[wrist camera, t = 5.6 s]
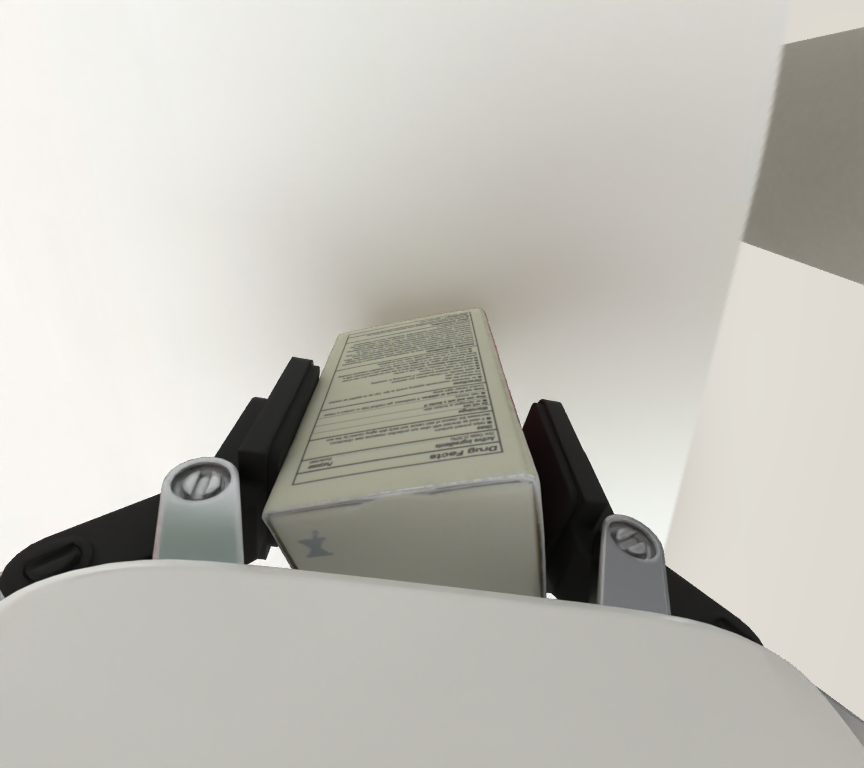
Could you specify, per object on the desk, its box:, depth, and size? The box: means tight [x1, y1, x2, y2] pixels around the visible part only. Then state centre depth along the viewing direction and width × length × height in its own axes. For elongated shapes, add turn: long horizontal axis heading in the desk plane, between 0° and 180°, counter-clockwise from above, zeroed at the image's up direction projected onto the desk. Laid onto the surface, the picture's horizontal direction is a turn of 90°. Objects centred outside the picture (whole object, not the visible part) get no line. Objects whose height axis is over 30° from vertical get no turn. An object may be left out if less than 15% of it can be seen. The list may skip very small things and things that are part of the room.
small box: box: [262, 308, 546, 598], centre depth 12 cm, size 5×4×8 cm
